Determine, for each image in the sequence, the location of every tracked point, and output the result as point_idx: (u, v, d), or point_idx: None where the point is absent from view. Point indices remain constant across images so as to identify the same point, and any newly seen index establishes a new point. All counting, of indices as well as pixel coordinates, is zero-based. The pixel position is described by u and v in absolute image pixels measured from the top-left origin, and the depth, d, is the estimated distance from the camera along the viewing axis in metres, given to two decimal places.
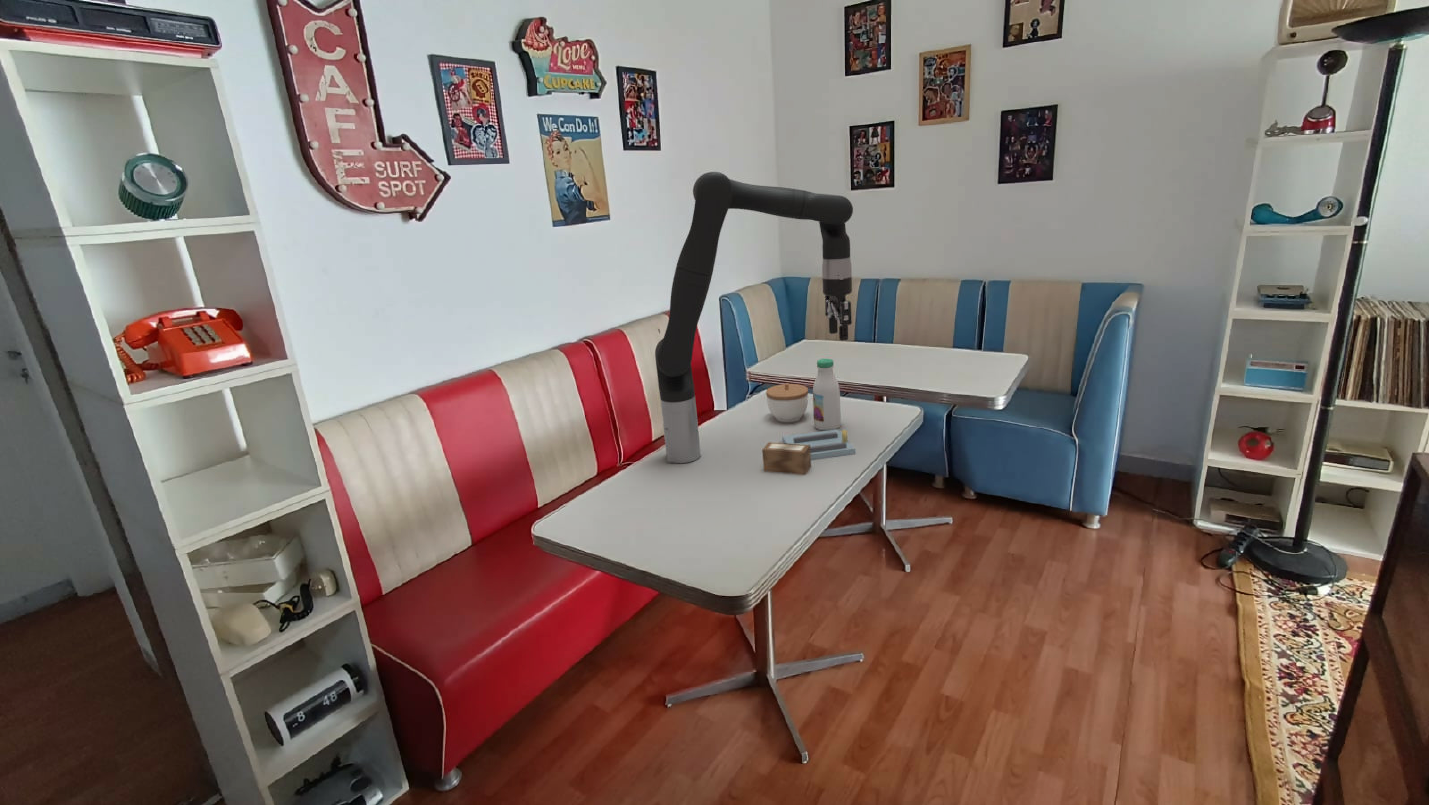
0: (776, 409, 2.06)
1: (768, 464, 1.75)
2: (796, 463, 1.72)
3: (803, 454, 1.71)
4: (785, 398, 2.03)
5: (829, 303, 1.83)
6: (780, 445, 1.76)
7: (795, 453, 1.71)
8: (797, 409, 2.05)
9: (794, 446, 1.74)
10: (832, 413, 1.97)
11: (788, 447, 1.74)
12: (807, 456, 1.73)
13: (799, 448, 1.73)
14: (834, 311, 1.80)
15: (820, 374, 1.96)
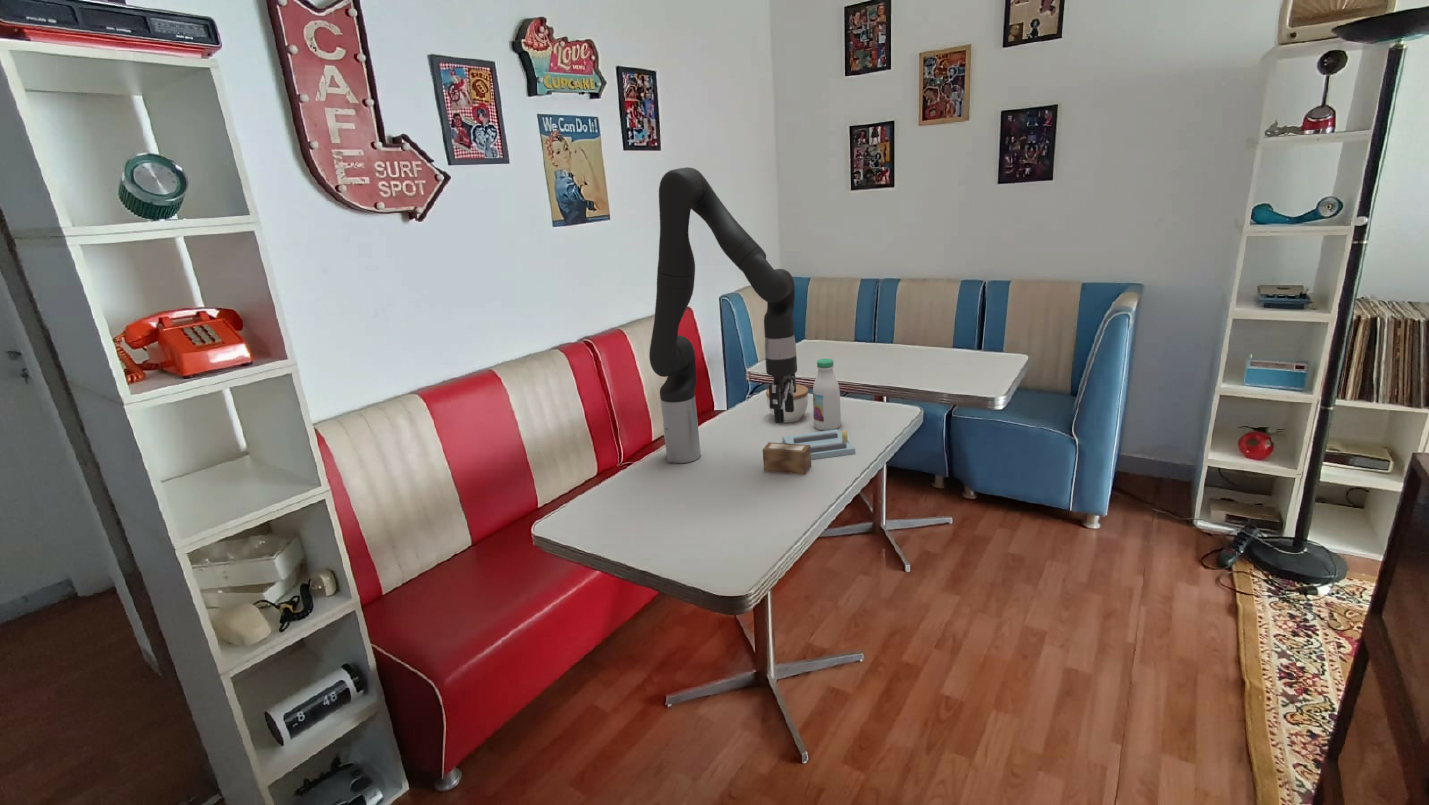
0: None
1: (768, 464, 1.75)
2: (796, 463, 1.72)
3: (803, 454, 1.71)
4: None
5: (789, 384, 1.68)
6: (780, 445, 1.76)
7: (795, 453, 1.71)
8: (797, 409, 2.05)
9: (794, 446, 1.74)
10: (832, 413, 1.97)
11: (789, 447, 1.74)
12: (807, 456, 1.73)
13: (799, 448, 1.73)
14: (792, 386, 1.71)
15: (820, 374, 1.96)
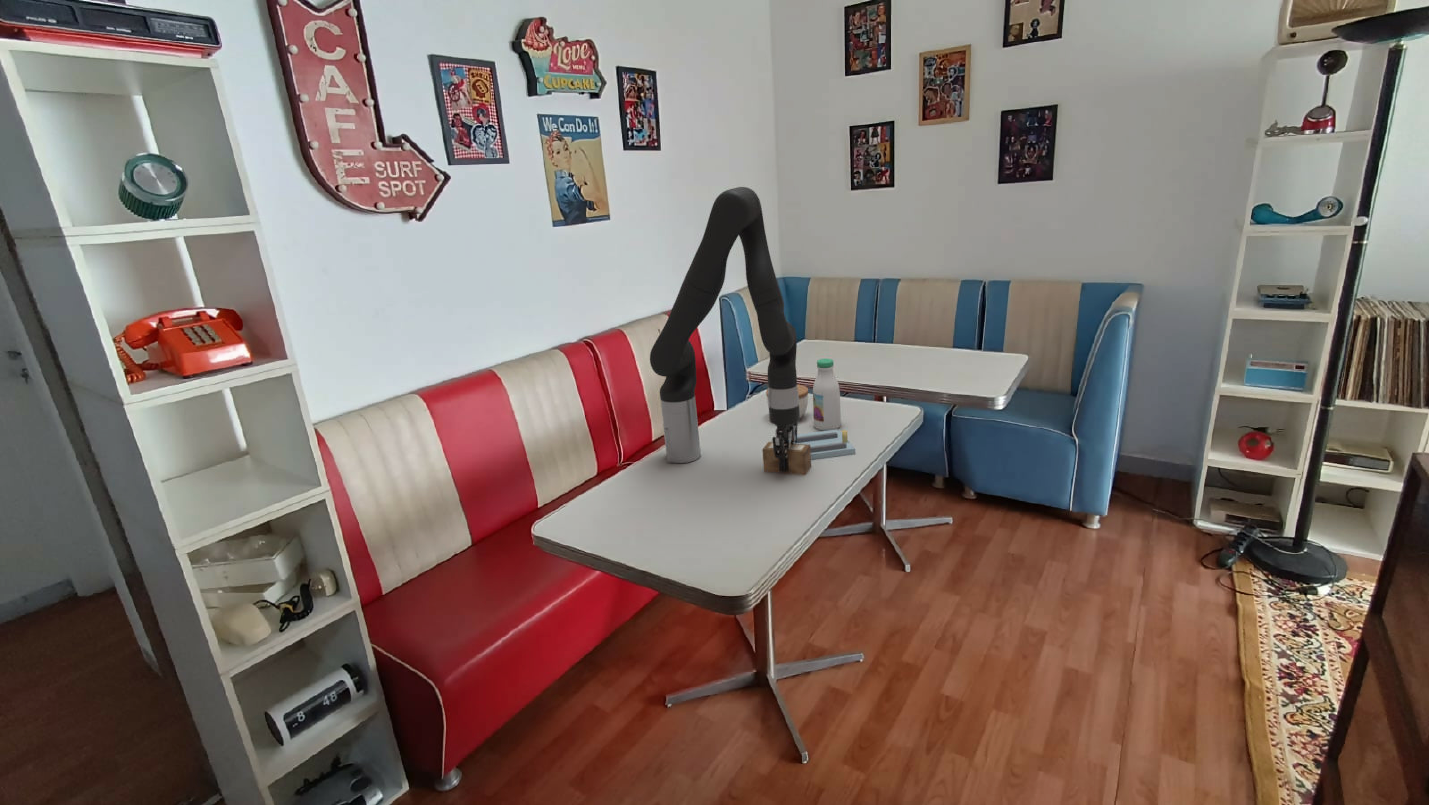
0: None
1: (768, 464, 1.75)
2: (796, 463, 1.72)
3: (803, 454, 1.71)
4: None
5: (791, 431, 1.72)
6: None
7: (795, 453, 1.71)
8: None
9: (794, 446, 1.74)
10: (832, 413, 1.97)
11: None
12: (807, 456, 1.73)
13: (799, 448, 1.73)
14: (794, 435, 1.75)
15: (820, 374, 1.96)
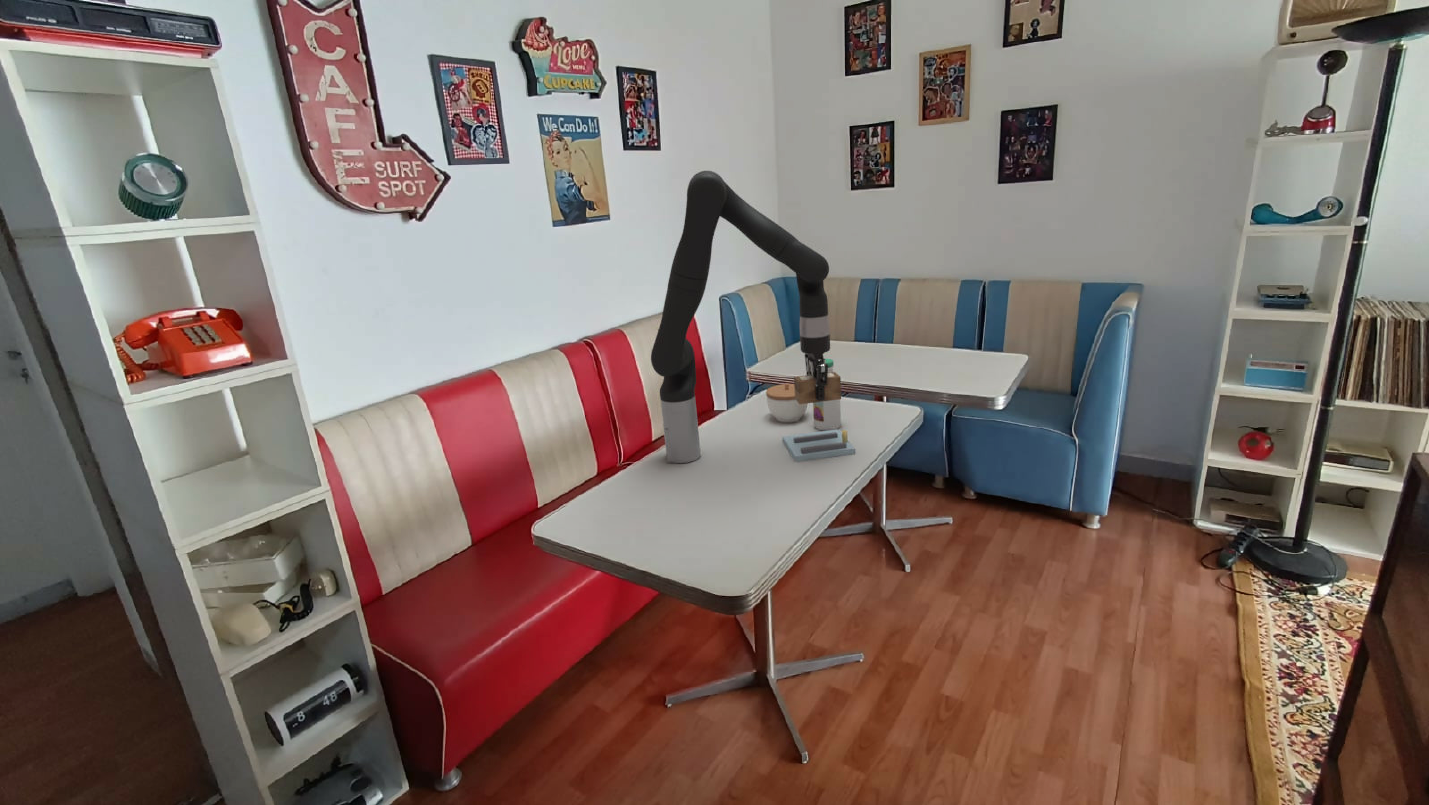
0: (776, 409, 2.06)
1: (804, 396, 1.78)
2: (832, 389, 1.78)
3: (839, 379, 1.78)
4: (785, 398, 2.03)
5: (824, 359, 1.78)
6: (809, 376, 1.80)
7: (831, 379, 1.78)
8: (797, 409, 2.05)
9: None
10: (832, 413, 1.97)
11: None
12: None
13: (830, 375, 1.80)
14: None
15: None
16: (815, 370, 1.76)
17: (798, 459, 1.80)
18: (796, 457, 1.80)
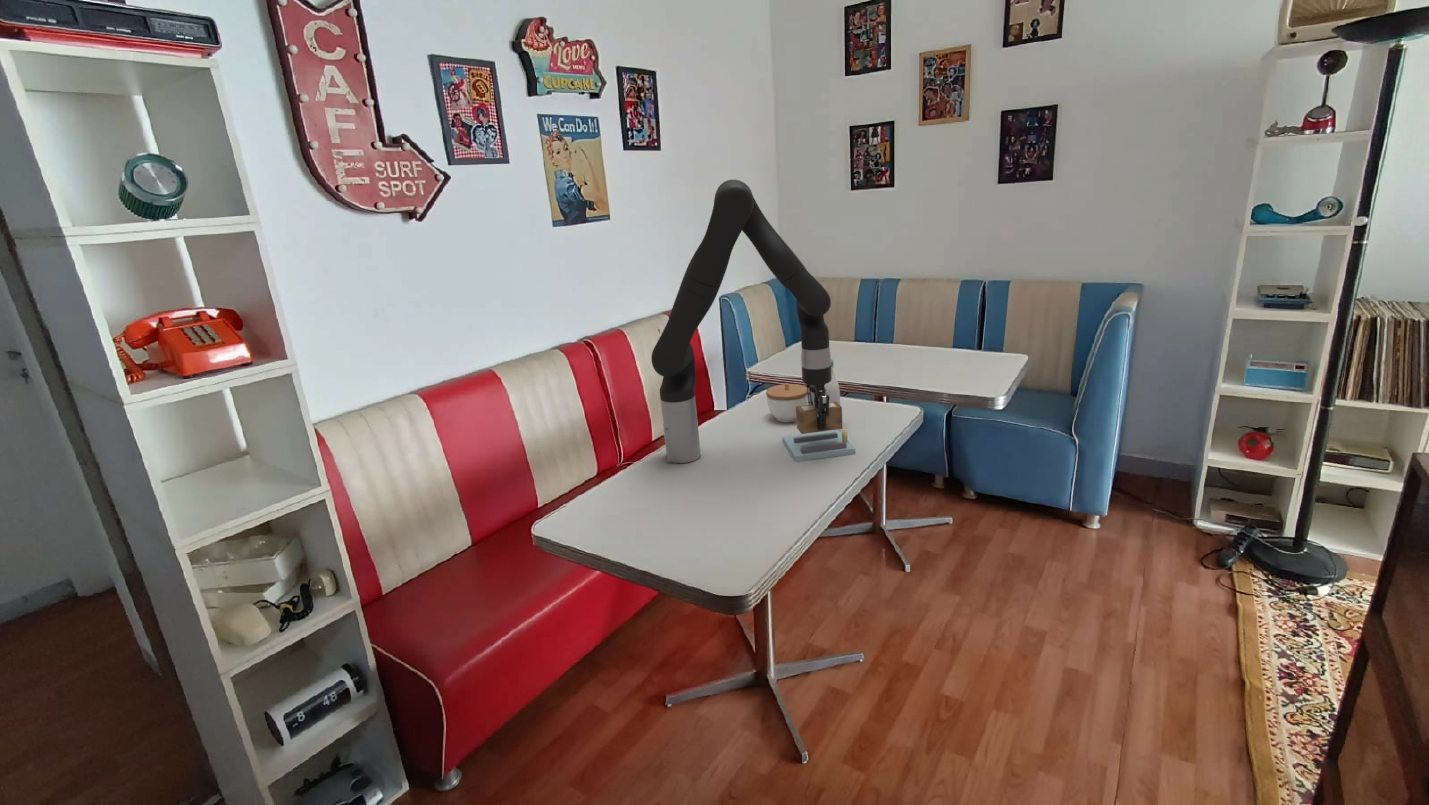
0: (776, 409, 2.06)
1: (806, 426, 1.81)
2: (833, 419, 1.81)
3: (840, 409, 1.80)
4: (785, 398, 2.03)
5: (825, 390, 1.80)
6: (811, 406, 1.82)
7: (832, 410, 1.80)
8: None
9: None
10: None
11: None
12: None
13: (832, 405, 1.82)
14: None
15: None
16: (817, 401, 1.79)
17: (798, 459, 1.80)
18: (796, 457, 1.80)
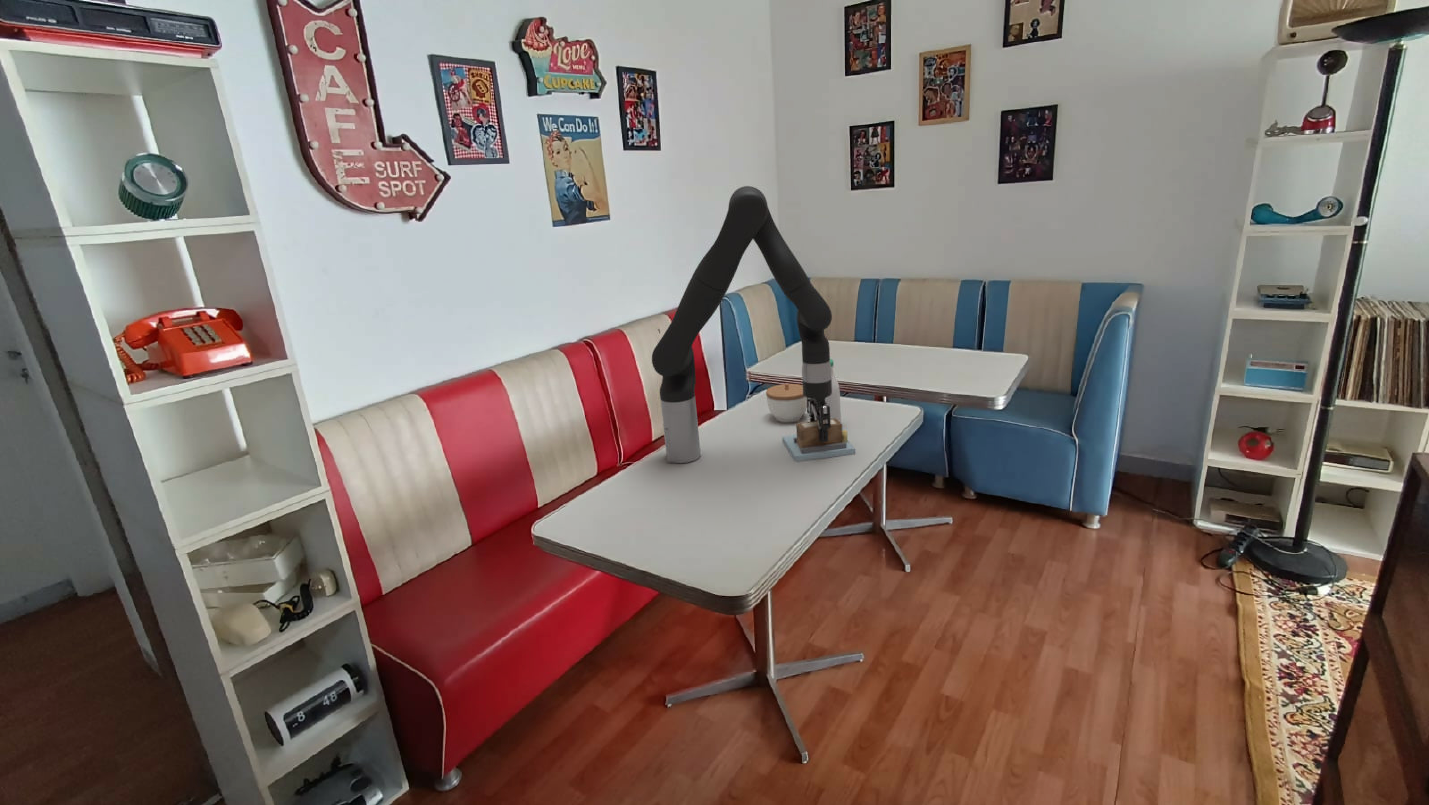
0: (776, 409, 2.06)
1: (806, 443, 1.82)
2: (833, 436, 1.83)
3: (840, 426, 1.82)
4: (785, 398, 2.03)
5: (826, 404, 1.81)
6: (811, 423, 1.84)
7: (832, 427, 1.82)
8: (797, 409, 2.05)
9: None
10: (832, 413, 1.97)
11: None
12: None
13: (832, 422, 1.84)
14: None
15: None
16: (818, 413, 1.80)
17: (798, 459, 1.80)
18: (796, 457, 1.80)
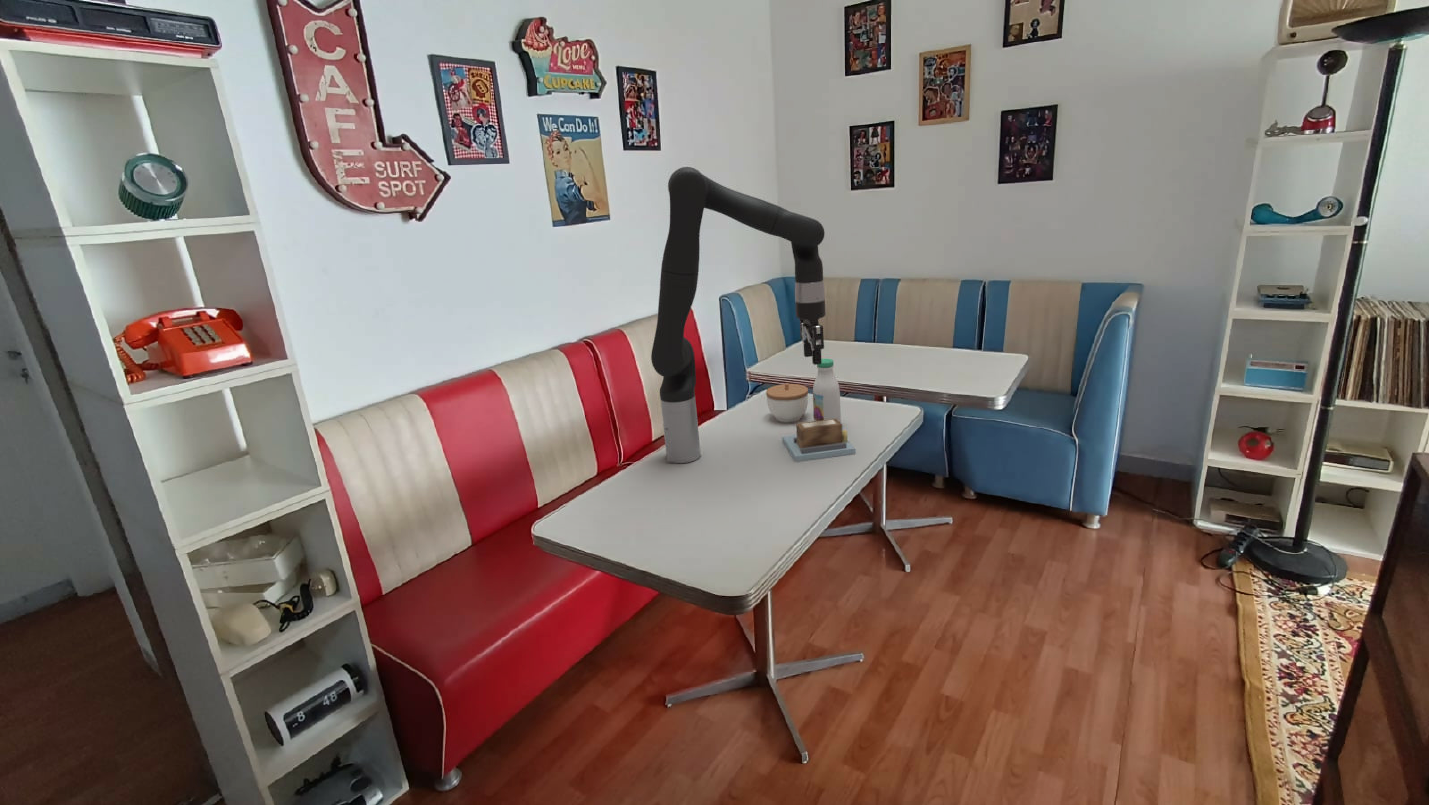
0: (776, 409, 2.06)
1: (806, 443, 1.82)
2: (833, 436, 1.83)
3: (840, 426, 1.82)
4: (785, 398, 2.03)
5: (819, 326, 1.79)
6: (811, 423, 1.84)
7: (832, 427, 1.82)
8: (797, 409, 2.05)
9: (825, 421, 1.85)
10: (832, 413, 1.97)
11: (821, 423, 1.84)
12: None
13: (832, 422, 1.84)
14: None
15: (820, 374, 1.96)
16: (811, 335, 1.77)
17: (798, 459, 1.80)
18: (796, 457, 1.80)
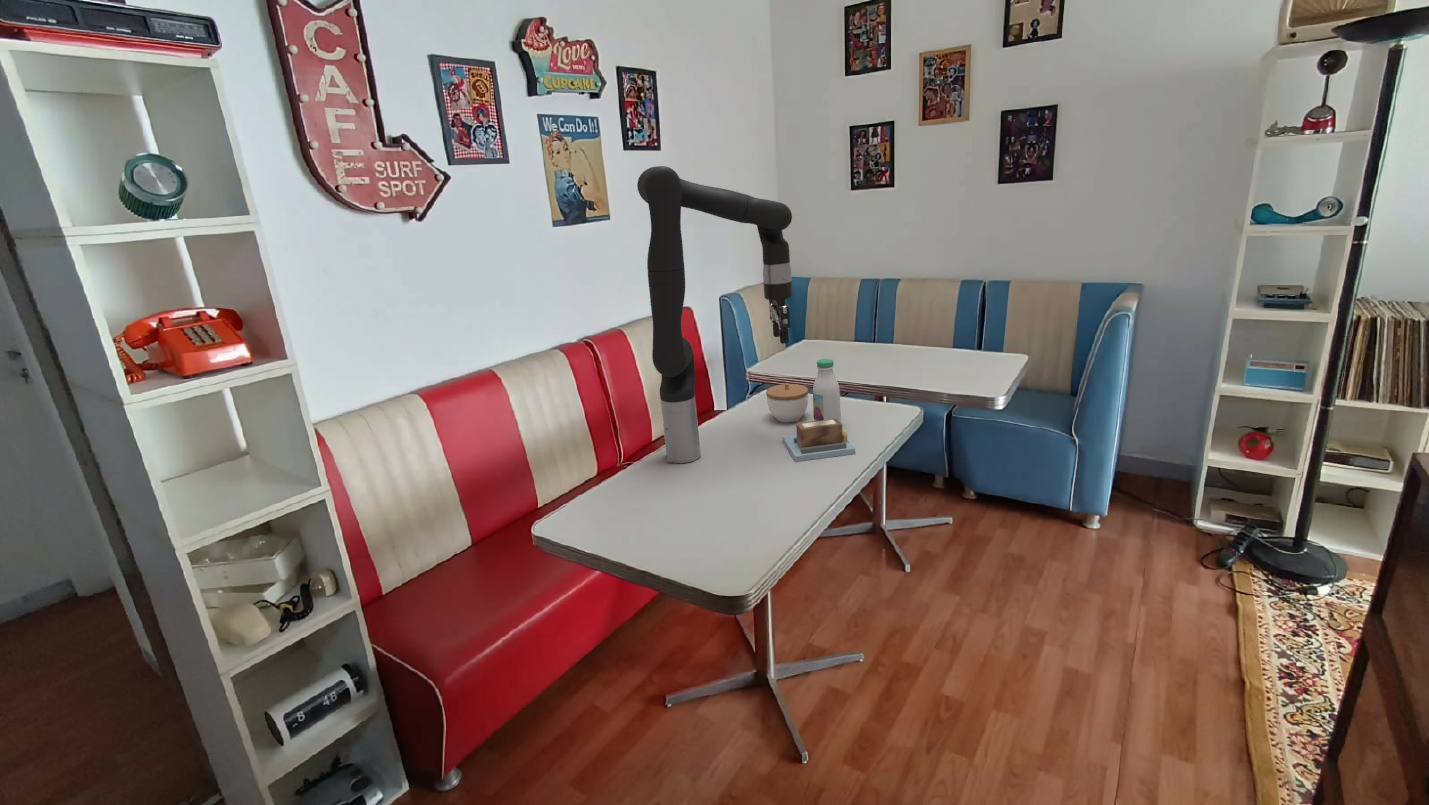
0: (776, 409, 2.06)
1: (806, 443, 1.82)
2: (833, 436, 1.83)
3: (840, 426, 1.82)
4: (785, 398, 2.03)
5: None
6: (811, 423, 1.84)
7: (832, 427, 1.82)
8: (797, 409, 2.05)
9: (825, 421, 1.85)
10: (832, 413, 1.97)
11: (821, 423, 1.84)
12: None
13: (832, 422, 1.84)
14: None
15: (820, 374, 1.96)
16: (778, 315, 1.84)
17: (798, 459, 1.80)
18: (796, 457, 1.80)
